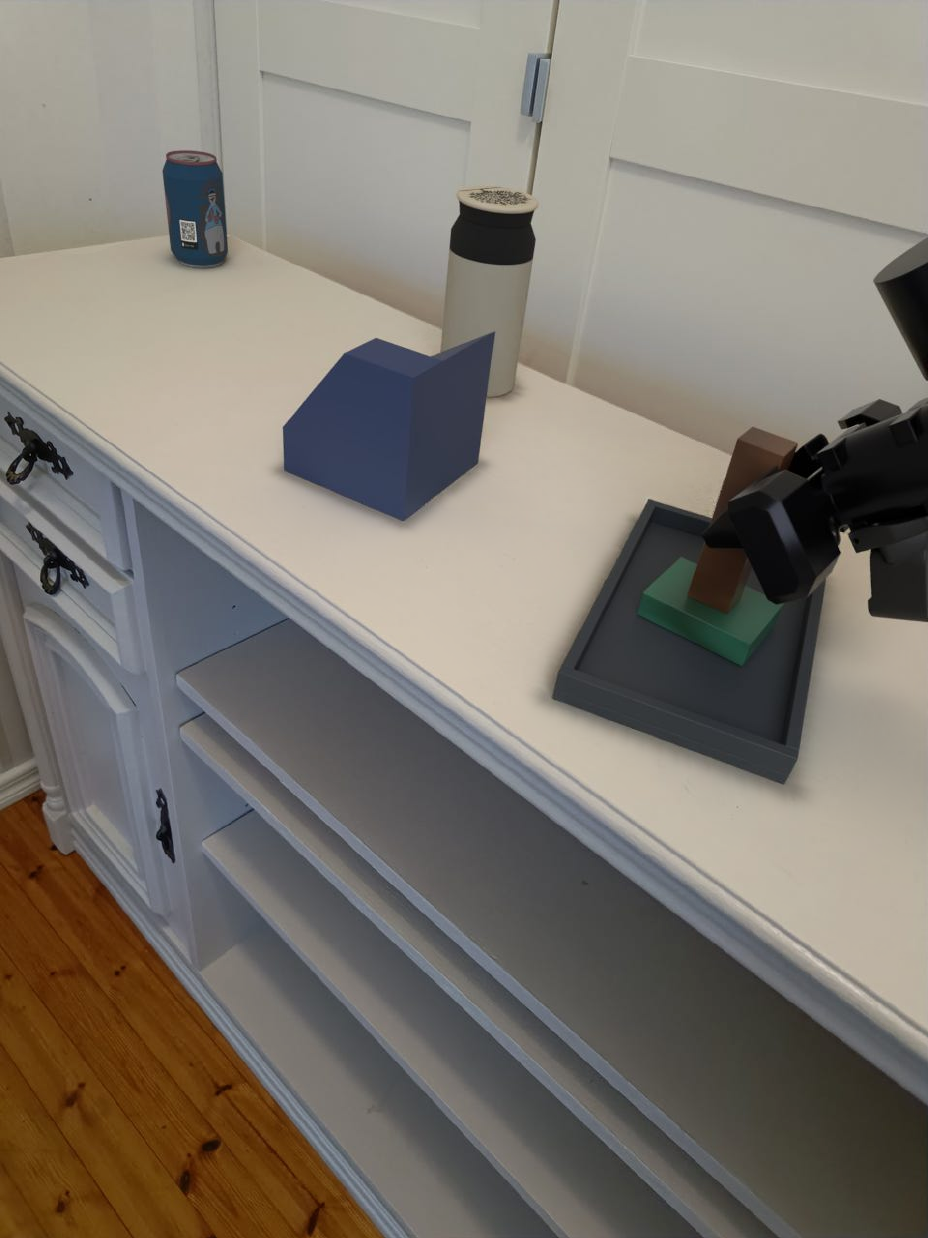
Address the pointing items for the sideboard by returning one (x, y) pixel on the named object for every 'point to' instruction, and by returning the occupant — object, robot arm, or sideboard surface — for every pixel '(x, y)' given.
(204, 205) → the soda can
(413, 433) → the phone stand
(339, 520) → the sideboard surface
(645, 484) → the sideboard surface
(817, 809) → the sideboard surface
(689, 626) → the brown post on base
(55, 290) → the sideboard surface
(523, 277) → the travel mug
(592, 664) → the tray
